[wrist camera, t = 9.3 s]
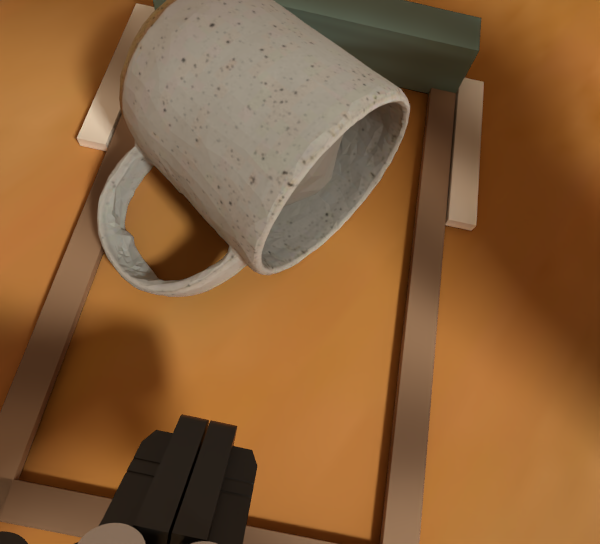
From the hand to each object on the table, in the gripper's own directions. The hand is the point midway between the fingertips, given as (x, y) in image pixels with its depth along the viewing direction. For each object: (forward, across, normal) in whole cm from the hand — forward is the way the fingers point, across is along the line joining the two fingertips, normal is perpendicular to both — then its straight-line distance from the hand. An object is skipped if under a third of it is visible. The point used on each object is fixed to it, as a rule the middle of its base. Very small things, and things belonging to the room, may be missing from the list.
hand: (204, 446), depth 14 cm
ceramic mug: (+10, +2, -4) cm, 11 cm away
